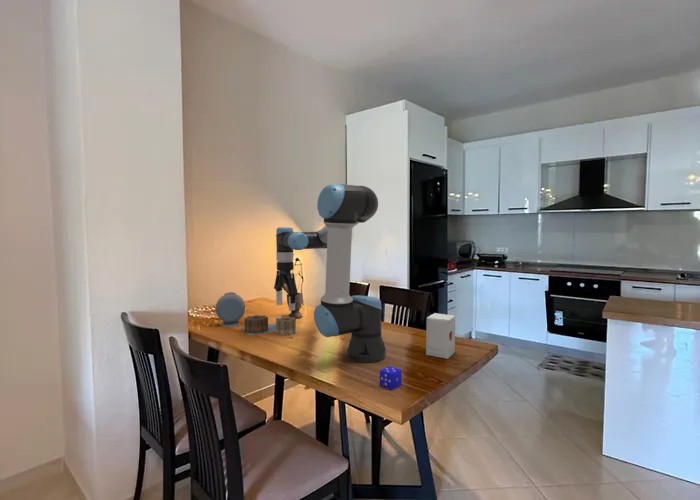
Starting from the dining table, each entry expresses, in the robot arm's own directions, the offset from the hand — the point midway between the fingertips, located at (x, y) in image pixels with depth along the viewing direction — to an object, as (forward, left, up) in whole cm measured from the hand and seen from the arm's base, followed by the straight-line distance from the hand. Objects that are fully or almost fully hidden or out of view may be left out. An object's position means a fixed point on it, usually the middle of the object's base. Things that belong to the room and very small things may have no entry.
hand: (285, 307), depth 173 cm
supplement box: (-58, -39, -14) cm, 71 cm away
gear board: (+12, +4, -13) cm, 18 cm away
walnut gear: (+12, +9, -12) cm, 19 cm away
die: (-69, -4, -14) cm, 70 cm away
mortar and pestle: (+30, -18, -13) cm, 38 cm away
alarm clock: (+30, +16, -14) cm, 37 cm away
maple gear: (0, 0, -13) cm, 13 cm away
